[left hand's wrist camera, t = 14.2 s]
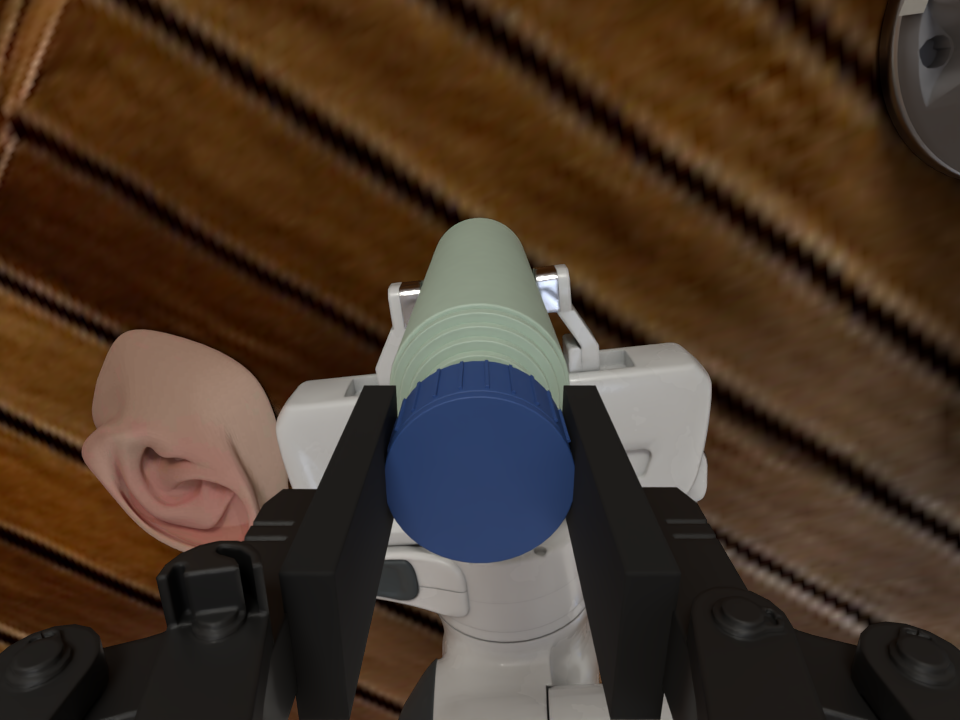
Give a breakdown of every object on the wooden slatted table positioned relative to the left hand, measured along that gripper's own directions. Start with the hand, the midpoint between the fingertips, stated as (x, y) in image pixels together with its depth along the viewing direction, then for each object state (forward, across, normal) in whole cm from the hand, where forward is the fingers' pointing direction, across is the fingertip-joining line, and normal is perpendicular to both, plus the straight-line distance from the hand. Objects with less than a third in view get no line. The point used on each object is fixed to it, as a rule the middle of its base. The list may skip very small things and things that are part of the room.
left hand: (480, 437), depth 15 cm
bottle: (+20, 0, 0) cm, 20 cm away
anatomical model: (+20, +18, +10) cm, 29 cm away
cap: (-2, 0, 0) cm, 2 cm away
